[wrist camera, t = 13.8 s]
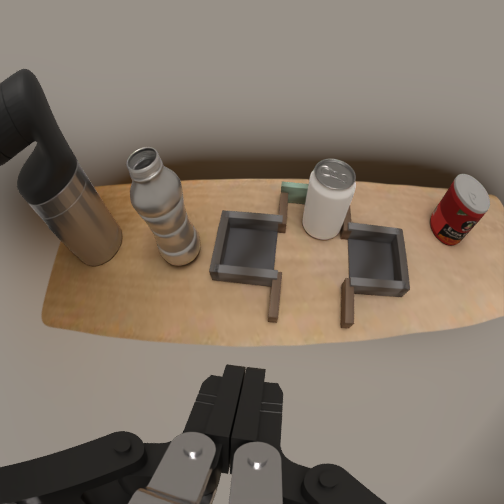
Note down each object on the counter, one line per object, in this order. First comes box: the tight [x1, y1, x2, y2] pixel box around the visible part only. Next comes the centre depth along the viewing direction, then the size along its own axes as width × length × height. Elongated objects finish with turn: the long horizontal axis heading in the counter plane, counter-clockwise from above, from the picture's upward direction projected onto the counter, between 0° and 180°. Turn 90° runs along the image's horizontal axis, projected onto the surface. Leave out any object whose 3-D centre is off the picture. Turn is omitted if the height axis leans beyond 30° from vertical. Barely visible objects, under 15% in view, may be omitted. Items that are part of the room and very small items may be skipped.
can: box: [302, 159, 356, 240], centre depth 42 cm, size 6×6×12 cm
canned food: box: [430, 174, 490, 245], centre depth 42 cm, size 8×8×11 cm
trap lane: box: [209, 182, 410, 328], centre depth 43 cm, size 29×22×4 cm
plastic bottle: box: [127, 147, 200, 266], centre depth 37 cm, size 6×7×20 cm
